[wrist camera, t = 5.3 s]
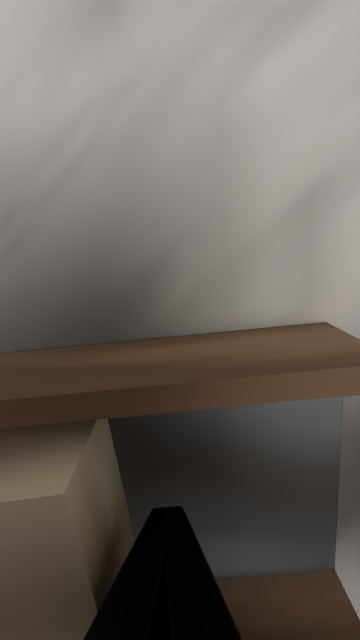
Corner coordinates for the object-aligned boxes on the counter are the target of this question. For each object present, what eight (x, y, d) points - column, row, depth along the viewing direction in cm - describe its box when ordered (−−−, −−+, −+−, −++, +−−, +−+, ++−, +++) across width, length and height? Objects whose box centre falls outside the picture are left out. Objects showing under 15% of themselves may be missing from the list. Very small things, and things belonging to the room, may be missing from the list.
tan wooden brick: (144, 580, 10) (131, 727, 7) (67, 590, 10) (21, 741, 7) (104, 402, 8) (64, 493, 5) (12, 415, 8) (-80, 513, 5)
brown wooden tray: (319, 552, 11) (386, 695, 7) (-164, 596, 11) (-318, 758, 7) (326, 322, 9) (425, 373, 5) (-275, 379, 9) (-563, 466, 5)
